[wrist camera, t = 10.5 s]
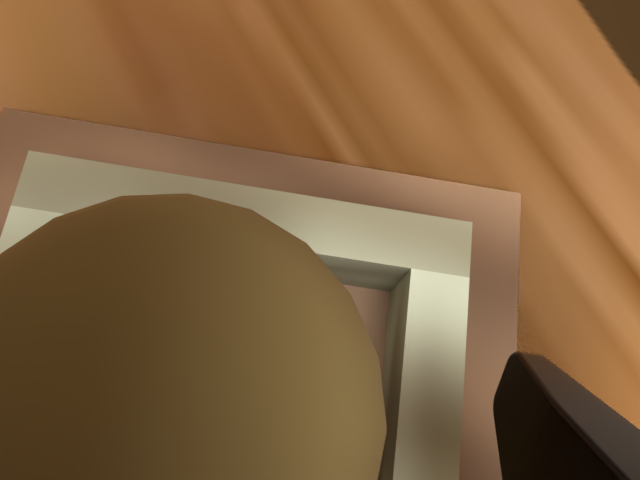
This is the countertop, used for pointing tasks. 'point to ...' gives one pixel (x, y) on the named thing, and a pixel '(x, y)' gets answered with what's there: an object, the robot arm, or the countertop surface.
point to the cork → (181, 350)
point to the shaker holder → (327, 261)
